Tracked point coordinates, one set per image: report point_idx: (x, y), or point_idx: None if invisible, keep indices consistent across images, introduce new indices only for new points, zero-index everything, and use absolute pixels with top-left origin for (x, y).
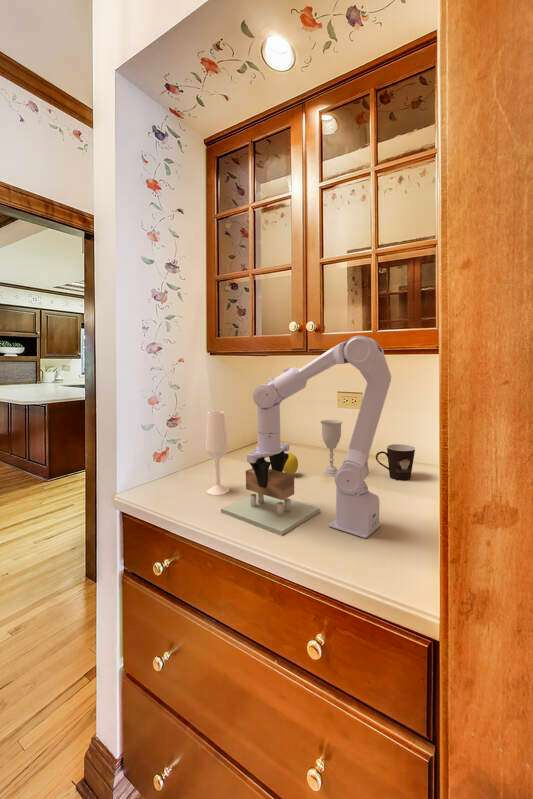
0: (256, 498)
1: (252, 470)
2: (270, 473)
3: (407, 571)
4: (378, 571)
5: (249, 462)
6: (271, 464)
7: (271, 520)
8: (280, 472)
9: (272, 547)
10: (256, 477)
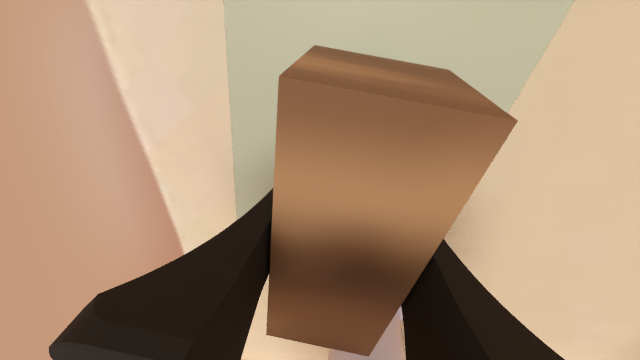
0: (437, 26)
1: (328, 141)
2: (330, 279)
3: (271, 351)
4: (250, 333)
5: (91, 304)
6: (447, 298)
7: (269, 188)
8: (379, 313)
9: (189, 221)
10: (248, 211)
